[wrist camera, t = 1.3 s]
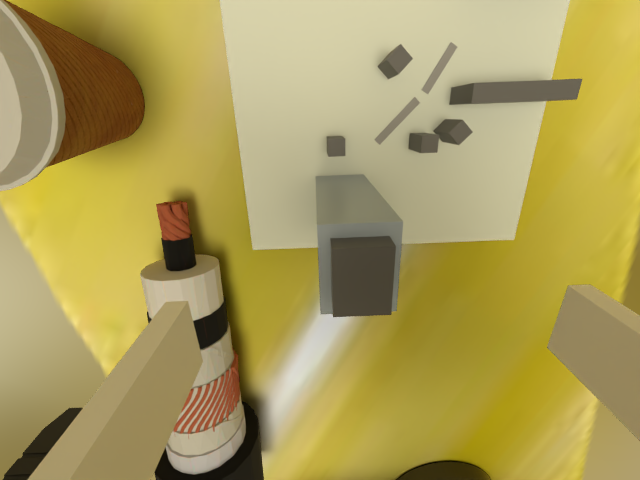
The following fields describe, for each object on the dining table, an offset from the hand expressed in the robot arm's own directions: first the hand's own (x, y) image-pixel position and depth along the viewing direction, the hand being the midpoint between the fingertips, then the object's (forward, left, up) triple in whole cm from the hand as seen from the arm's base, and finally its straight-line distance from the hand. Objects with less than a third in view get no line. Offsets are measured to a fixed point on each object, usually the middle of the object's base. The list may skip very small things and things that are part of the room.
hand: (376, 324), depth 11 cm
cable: (-16, +14, -17) cm, 27 cm away
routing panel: (+6, -4, -17) cm, 18 cm away
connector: (0, 0, -16) cm, 16 cm away
